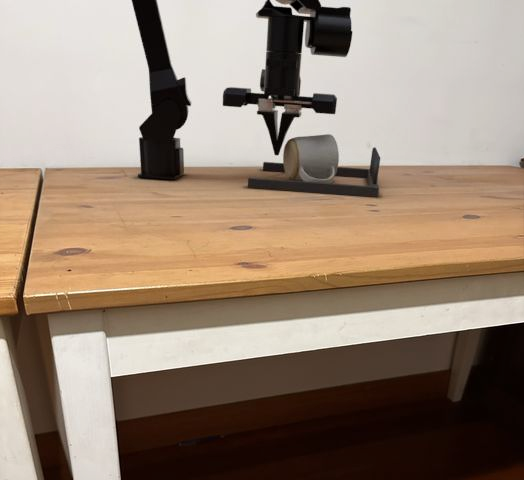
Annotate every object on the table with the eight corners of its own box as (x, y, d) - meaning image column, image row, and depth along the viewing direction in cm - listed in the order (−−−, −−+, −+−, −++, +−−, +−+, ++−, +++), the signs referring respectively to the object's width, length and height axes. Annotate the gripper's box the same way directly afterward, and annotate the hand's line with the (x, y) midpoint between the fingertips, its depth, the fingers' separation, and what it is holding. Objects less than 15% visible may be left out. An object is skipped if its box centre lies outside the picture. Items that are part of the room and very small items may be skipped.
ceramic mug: (279, 176, 96) (282, 131, 92) (320, 176, 98) (324, 132, 94) (300, 189, 87) (304, 139, 83) (345, 188, 89) (351, 140, 86)
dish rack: (247, 187, 85) (248, 150, 83) (263, 169, 102) (264, 138, 99) (377, 197, 83) (382, 159, 80) (372, 177, 100) (376, 145, 97)
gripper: (341, 58, 90) (330, 153, 98) (235, 51, 92) (232, 145, 99) (341, 56, 80) (329, 162, 88) (223, 48, 82) (220, 153, 90)
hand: (276, 155), depth 91 cm, fingers closed
